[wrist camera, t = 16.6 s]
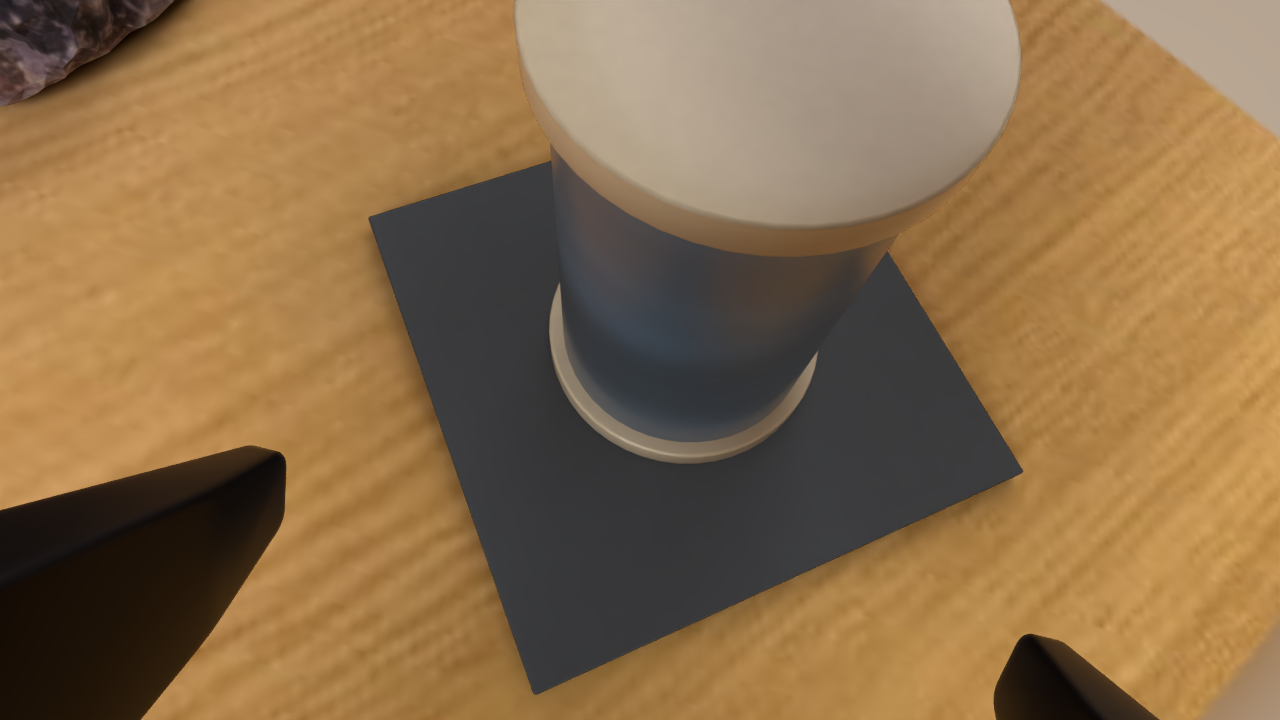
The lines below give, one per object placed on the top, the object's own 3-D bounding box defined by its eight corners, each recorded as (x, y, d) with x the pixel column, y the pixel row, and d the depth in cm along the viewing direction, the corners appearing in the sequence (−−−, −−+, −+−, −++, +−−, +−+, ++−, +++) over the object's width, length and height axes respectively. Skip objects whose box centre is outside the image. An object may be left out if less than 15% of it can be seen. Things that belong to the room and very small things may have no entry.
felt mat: (1015, 476, 17) (1025, 471, 16) (534, 695, 14) (533, 695, 14) (783, 98, 20) (787, 87, 20) (371, 225, 18) (367, 216, 18)
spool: (701, 522, 15) (834, 338, 7) (494, 345, 17) (402, 12, 8) (861, 328, 17) (1111, 6, 9) (665, 182, 19) (727, -220, 10)
